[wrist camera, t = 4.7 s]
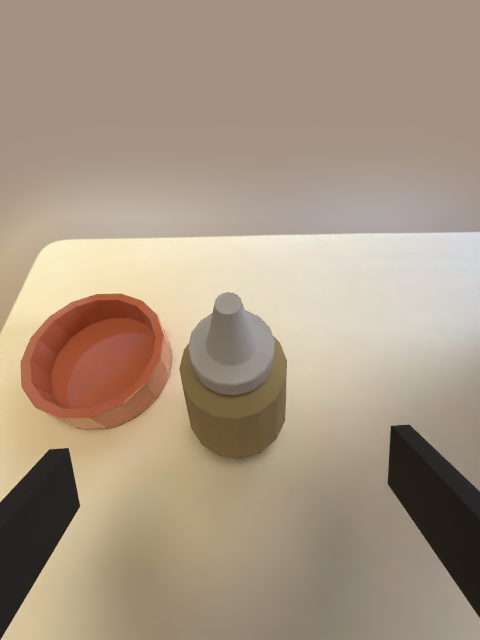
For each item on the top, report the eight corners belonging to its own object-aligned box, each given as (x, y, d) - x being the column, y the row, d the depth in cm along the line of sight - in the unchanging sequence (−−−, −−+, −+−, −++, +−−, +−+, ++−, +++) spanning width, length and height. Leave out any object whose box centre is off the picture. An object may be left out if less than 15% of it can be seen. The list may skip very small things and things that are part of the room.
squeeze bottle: (176, 422, 28) (94, 312, 13) (234, 361, 31) (222, 216, 16) (242, 487, 25) (237, 443, 10) (299, 412, 28) (359, 293, 13)
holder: (154, 300, 36) (144, 278, 32) (187, 397, 29) (179, 381, 26) (41, 338, 33) (18, 319, 30) (51, 453, 27) (23, 444, 24)
